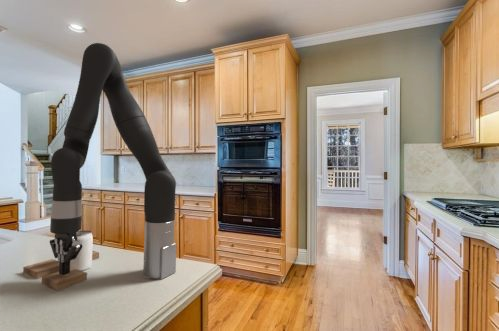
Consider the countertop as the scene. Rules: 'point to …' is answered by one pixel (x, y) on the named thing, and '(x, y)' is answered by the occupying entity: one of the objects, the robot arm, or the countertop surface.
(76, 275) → the tile
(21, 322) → the countertop surface
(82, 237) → the can
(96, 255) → the tile
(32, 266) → the tile
